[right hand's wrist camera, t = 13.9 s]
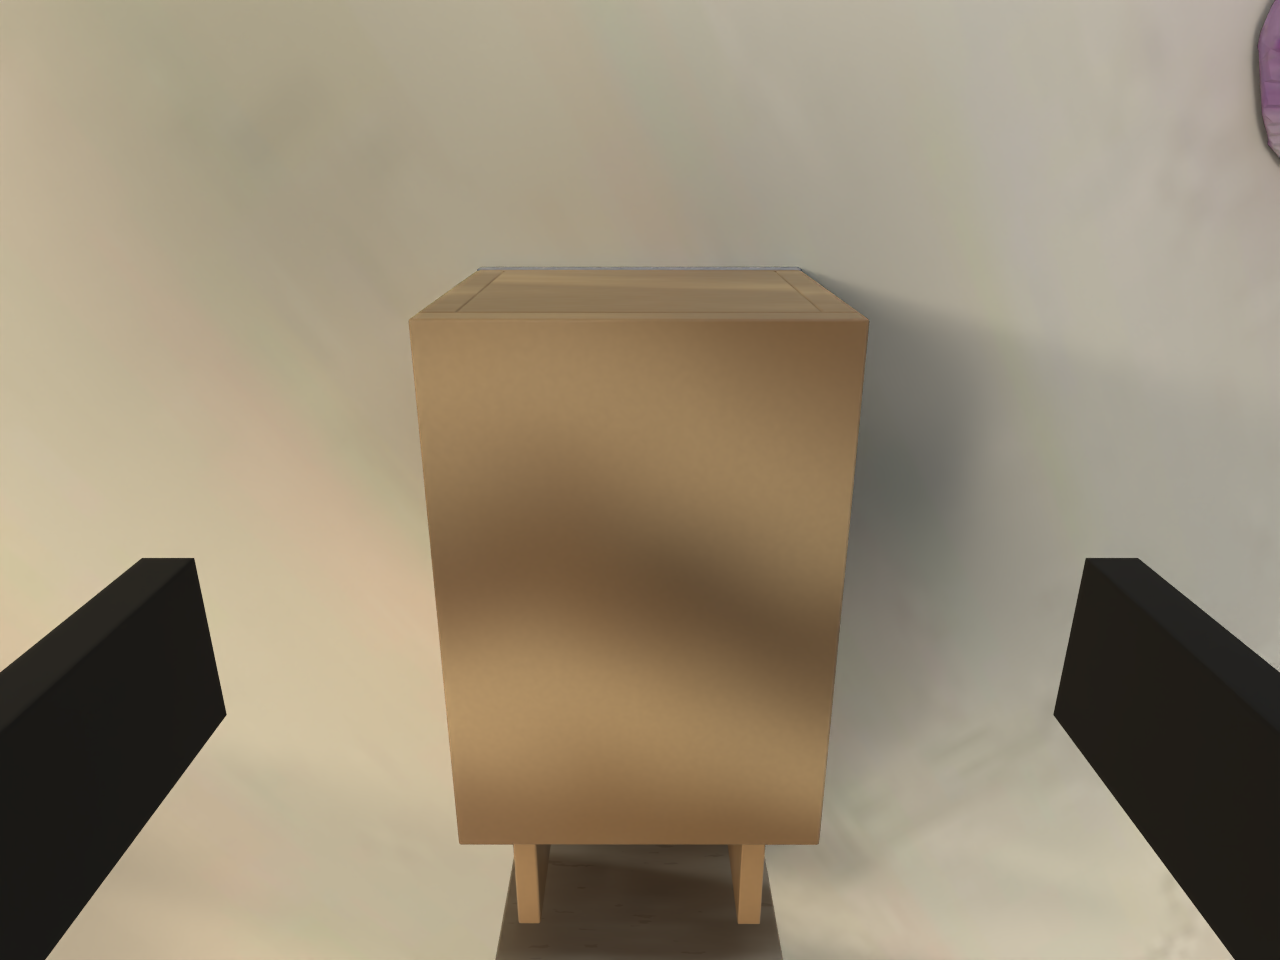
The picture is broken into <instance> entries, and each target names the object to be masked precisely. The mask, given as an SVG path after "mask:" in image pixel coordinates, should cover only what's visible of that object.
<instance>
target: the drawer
mask: <svg viewBox="0 0 1280 960" xmlns="http://www.w3.org/2000/svg"><path fill="white" fill-rule="evenodd" d="M513 847H514V860H513V865H512V871H511V876H510V882H509V887H508V893H507V898H506V904H505V910H504V915H503V921H502V926H501V932H500V937H499V943H498V948H497V954H496V959H495V960H783V957H782V952H781V946H780V940H779V935H778V929H777V923H776V918H775V912H774V907H773V901H772V895H771V890H770V884H769V878H768V873H767V867H766V861H765V856H764V855H765V845H630V844H513Z"/></svg>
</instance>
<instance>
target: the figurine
mask: <svg viewBox="0 0 1280 960" xmlns="http://www.w3.org/2000/svg"><path fill="white" fill-rule="evenodd" d="M1257 47H1258V51H1259V71H1260V92H1261V105H1262V116H1263V120H1264V125H1265V129H1266V132H1267V135H1268V145H1269V146H1270V147H1271V148H1272V150H1273V151H1274V152H1275V153H1276V154H1277V155H1278V156H1279V158H1280V0H1275V1H1274V3H1273V5H1272V6H1271V8H1270V11H1269V13H1268V16H1267V18H1266V20H1265V23H1264V25H1263V27H1262V29H1261V32H1260V37H1259V41H1258V46H1257Z"/></svg>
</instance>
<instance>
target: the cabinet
mask: <svg viewBox="0 0 1280 960" xmlns="http://www.w3.org/2000/svg"><path fill="white" fill-rule="evenodd" d="M409 330H410V340H411V351H412V361H413V371H414V382H415V392H416V402H417V413H418V423H419V433H420V444H421V454H422V464H423V475H424V485H425V495H426V506H427V516H428V526H429V537H430V547H431V557H432V567H433V578H434V588H435V598H436V609H437V619H438V629H439V640H440V650H441V660H442V671H443V681H444V691H445V702H446V712H447V722H448V733H449V743H450V753H451V764H452V774H453V784H454V794H455V805H456V815H457V825H458V836H459V843H460V844H630V845H817V844H819V838H820V828H821V817H822V807H823V797H824V786H825V776H826V766H827V755H828V745H829V734H830V724H831V714H832V703H833V693H834V683H835V672H836V662H837V651H838V641H839V631H840V620H841V610H842V600H843V589H844V579H845V568H846V558H847V548H848V537H849V527H850V516H851V506H852V496H853V485H854V475H855V465H856V454H857V444H858V433H859V423H860V413H861V402H862V392H863V382H864V371H865V361H866V350H867V340H868V330H869V319H867V318H866V317H865V316H863V315H862V314H860V313H859V312H858V311H856V310H855V309H854V308H852V307H851V306H849V305H848V304H847V303H845V302H844V301H842V300H841V299H840V298H838V297H837V296H835V295H834V294H833V293H831V292H830V291H828V290H827V289H826V288H824V287H823V286H822V285H820V284H819V283H817V282H816V281H815V280H813V279H812V278H810V277H809V276H808V275H806V274H805V273H803V272H802V271H801V269H800V268H798V267H480V268H479V269H478V270H477V271H476V272H475V273H474V274H472V275H471V276H469V277H468V278H467V279H465V280H464V281H462V282H461V283H459V284H458V285H457V286H455V287H454V288H452V289H451V290H450V291H448V292H447V293H445V294H444V295H442V296H441V297H440V298H438V299H437V300H435V301H434V302H433V303H431V304H430V305H428V306H427V307H426V308H424V309H423V310H421V311H420V312H419V313H417V314H416V315H415V316H413V317H412V318H410V319H409Z"/></svg>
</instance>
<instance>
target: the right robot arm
mask: <svg viewBox="0 0 1280 960" xmlns="http://www.w3.org/2000/svg"><path fill="white" fill-rule="evenodd" d="M225 716H226V710H225V705H224V700H223V695H222V690H221V686H220V681H219V676H218V671H217V666H216V661H215V657H214V652H213V647H212V642H211V637H210V632H209V628H208V623H207V618H206V613H205V608H204V603H203V599H202V594H201V589H200V584H199V579H198V574H197V570H196V565H195V560H194V558H142V559H140V560H139V561H138V562H137V563H135V564H134V565H133V566H132V567H131V568H129V569H128V570H127V571H126V572H124V573H123V574H122V575H121V576H119V577H118V578H117V579H116V580H114V581H113V582H112V583H111V584H109V585H108V586H107V587H106V588H104V589H103V590H102V591H101V592H100V593H98V594H97V595H96V596H95V597H93V598H92V599H91V600H90V601H88V602H87V603H86V604H85V605H83V606H82V607H81V608H80V609H78V610H77V611H76V612H75V613H73V614H72V615H71V616H70V617H69V618H67V619H66V620H65V621H64V622H62V623H61V624H60V625H59V626H57V627H56V628H55V629H54V630H52V631H51V632H50V633H49V634H47V635H46V636H45V637H44V638H42V639H41V640H40V641H39V642H38V643H36V644H35V645H34V646H33V647H31V648H30V649H29V650H28V651H26V652H25V653H24V654H23V655H21V656H20V657H19V658H18V659H16V660H15V661H14V662H13V663H11V664H10V665H9V666H8V667H7V668H5V669H4V670H3V671H2V672H0V960H45V959H46V958H47V957H48V955H49V954H50V953H51V951H52V950H53V948H54V947H55V946H56V944H57V943H58V942H59V940H60V939H61V938H62V936H63V935H64V934H65V932H66V931H67V930H68V928H69V927H70V926H71V924H72V923H73V921H74V920H75V919H76V917H77V916H78V915H79V913H80V912H81V911H82V909H83V908H84V907H85V905H86V904H87V903H88V901H89V900H90V899H91V897H92V896H93V894H94V893H95V892H96V890H97V889H98V888H99V886H100V885H101V884H102V882H103V881H104V880H105V878H106V877H107V876H108V874H109V873H110V872H111V870H112V869H113V867H114V866H115V865H116V863H117V862H118V861H119V859H120V858H121V857H122V855H123V854H124V853H125V851H126V850H127V849H128V847H129V846H130V844H131V843H132V842H133V840H134V839H135V838H136V836H137V835H138V834H139V832H140V831H141V830H142V828H143V827H144V826H145V824H146V823H147V822H148V820H149V819H150V817H151V816H152V815H153V813H154V812H155V811H156V809H157V808H158V807H159V805H160V804H161V803H162V801H163V800H164V799H165V797H166V796H167V795H168V793H169V792H170V790H171V789H172V788H173V786H174V785H175V784H176V782H177V781H178V780H179V778H180V777H181V776H182V774H183V773H184V772H185V770H186V769H187V768H188V766H189V765H190V763H191V762H192V761H193V759H194V758H195V757H196V755H197V754H198V753H199V751H200V750H201V749H202V747H203V746H204V745H205V743H206V742H207V741H208V739H209V738H210V736H211V735H212V734H213V732H214V731H215V730H216V728H217V727H218V726H219V724H220V723H221V722H222V720H223V719H224V718H225ZM1054 716H1055V718H1056V719H1057V720H1058V722H1059V723H1060V724H1061V726H1062V727H1063V728H1064V730H1065V731H1066V732H1067V734H1068V735H1069V736H1070V738H1071V739H1072V741H1073V742H1074V743H1075V745H1076V746H1077V747H1078V749H1079V750H1080V751H1081V753H1082V754H1083V755H1084V757H1085V758H1086V759H1087V761H1088V762H1089V763H1090V765H1091V766H1092V768H1093V769H1094V770H1095V772H1096V773H1097V774H1098V776H1099V777H1100V778H1101V780H1102V781H1103V782H1104V784H1105V785H1106V786H1107V788H1108V789H1109V790H1110V792H1111V793H1112V795H1113V796H1114V797H1115V799H1116V800H1117V801H1118V803H1119V804H1120V805H1121V807H1122V808H1123V809H1124V811H1125V812H1126V813H1127V815H1128V816H1129V817H1130V819H1131V820H1132V822H1133V823H1134V824H1135V826H1136V827H1137V828H1138V830H1139V831H1140V832H1141V834H1142V835H1143V836H1144V838H1145V839H1146V840H1147V842H1148V843H1149V844H1150V846H1151V847H1152V849H1153V850H1154V851H1155V853H1156V854H1157V855H1158V857H1159V858H1160V859H1161V861H1162V862H1163V863H1164V865H1165V866H1166V867H1167V869H1168V870H1169V872H1170V873H1171V874H1172V876H1173V877H1174V878H1175V880H1176V881H1177V882H1178V884H1179V885H1180V886H1181V888H1182V889H1183V890H1184V892H1185V893H1186V894H1187V896H1188V897H1189V899H1190V900H1191V901H1192V903H1193V904H1194V905H1195V907H1196V908H1197V909H1198V911H1199V912H1200V913H1201V915H1202V916H1203V917H1204V919H1205V920H1206V921H1207V923H1208V924H1209V926H1210V927H1211V928H1212V930H1213V931H1214V932H1215V934H1216V935H1217V936H1218V938H1219V939H1220V940H1221V942H1222V943H1223V944H1224V946H1225V947H1226V948H1227V950H1228V951H1229V953H1230V954H1231V955H1232V957H1233V958H1234V959H1235V960H1280V672H1278V671H1277V670H1276V669H1275V668H1273V667H1272V666H1271V665H1270V664H1269V663H1267V662H1266V661H1265V660H1264V659H1262V658H1261V657H1260V656H1259V655H1257V654H1256V653H1255V652H1254V651H1252V650H1251V649H1250V648H1249V647H1247V646H1246V645H1245V644H1244V643H1242V642H1241V641H1240V640H1239V639H1238V638H1236V637H1235V636H1234V635H1233V634H1231V633H1230V632H1229V631H1228V630H1226V629H1225V628H1224V627H1223V626H1221V625H1220V624H1219V623H1218V622H1216V621H1215V620H1214V619H1213V618H1211V617H1210V616H1209V615H1208V614H1207V613H1205V612H1204V611H1203V610H1202V609H1200V608H1199V607H1198V606H1197V605H1195V604H1194V603H1193V602H1192V601H1190V600H1189V599H1188V598H1187V597H1185V596H1184V595H1183V594H1182V593H1180V592H1179V591H1178V590H1177V589H1176V588H1174V587H1173V586H1172V585H1171V584H1169V583H1168V582H1167V581H1166V580H1164V579H1163V578H1162V577H1161V576H1159V575H1158V574H1157V573H1156V572H1154V571H1153V570H1152V569H1151V568H1149V567H1148V566H1147V565H1146V564H1145V563H1143V562H1142V561H1141V560H1140V559H1138V558H1086V560H1085V565H1084V570H1083V574H1082V579H1081V584H1080V589H1079V594H1078V599H1077V603H1076V608H1075V613H1074V618H1073V623H1072V628H1071V632H1070V637H1069V642H1068V647H1067V652H1066V657H1065V661H1064V666H1063V671H1062V676H1061V681H1060V686H1059V690H1058V695H1057V700H1056V705H1055V710H1054Z"/></svg>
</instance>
